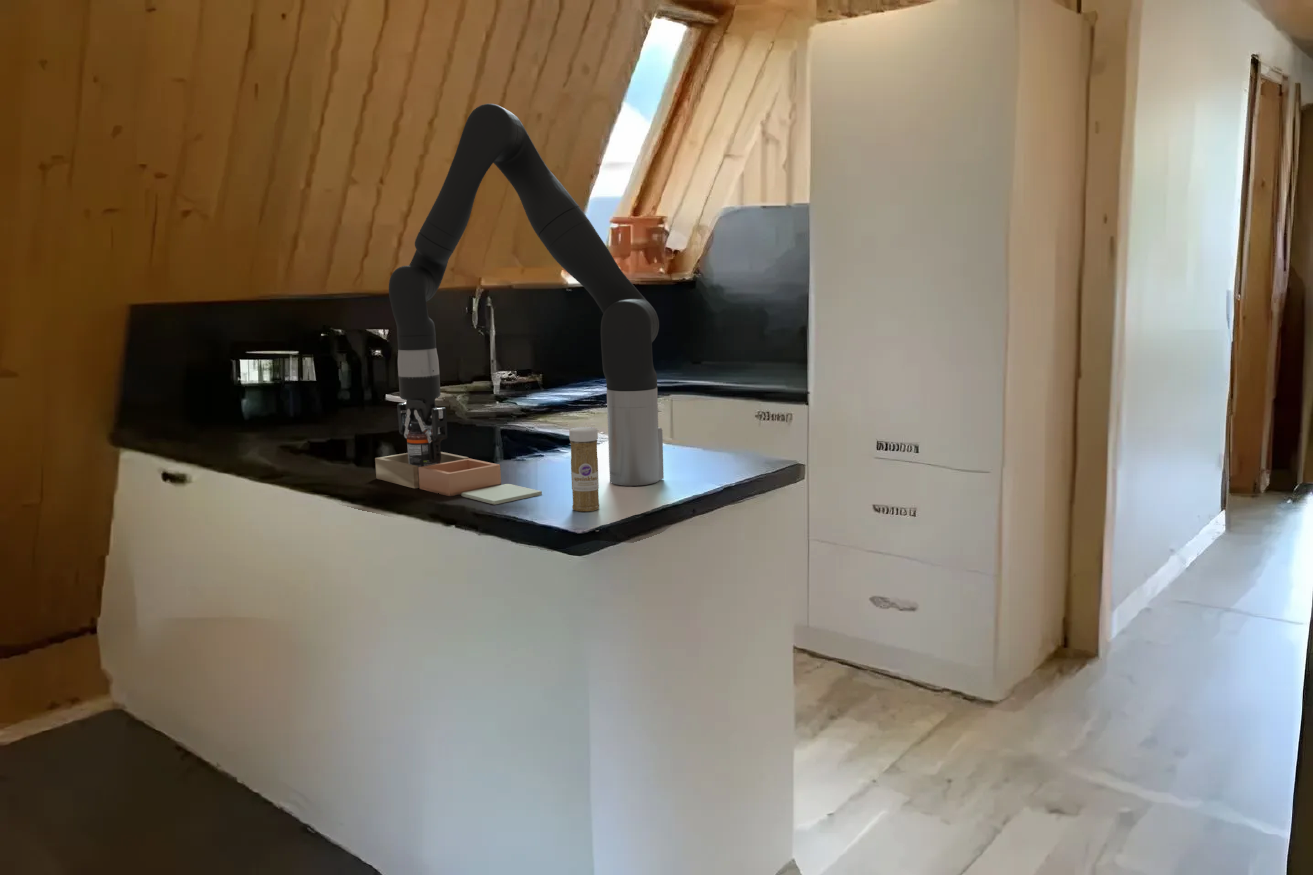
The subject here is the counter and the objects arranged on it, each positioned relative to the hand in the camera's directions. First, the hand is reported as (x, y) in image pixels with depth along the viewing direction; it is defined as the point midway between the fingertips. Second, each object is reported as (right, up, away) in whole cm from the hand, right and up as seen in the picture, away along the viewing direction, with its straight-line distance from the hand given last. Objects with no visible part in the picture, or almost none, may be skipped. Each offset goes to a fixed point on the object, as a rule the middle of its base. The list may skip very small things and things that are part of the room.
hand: (424, 459), depth 194 cm
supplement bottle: (0, -4, +1) cm, 4 cm away
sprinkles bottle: (+33, -8, -27) cm, 43 cm away
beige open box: (-1, -4, +1) cm, 4 cm away
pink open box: (+8, -5, -8) cm, 13 cm away
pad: (+17, -6, -15) cm, 24 cm away
